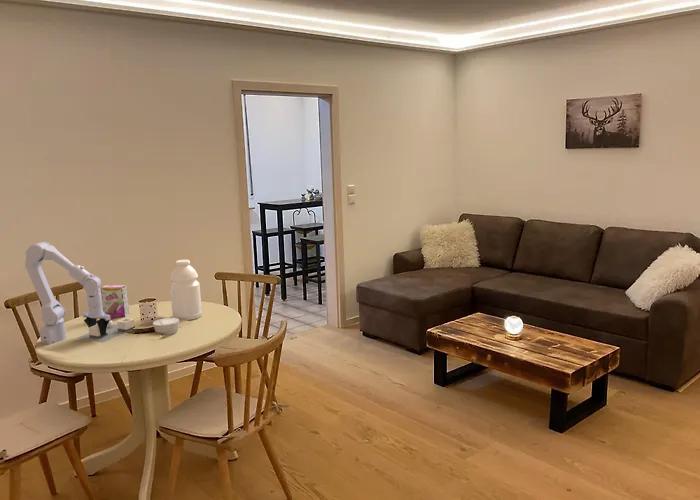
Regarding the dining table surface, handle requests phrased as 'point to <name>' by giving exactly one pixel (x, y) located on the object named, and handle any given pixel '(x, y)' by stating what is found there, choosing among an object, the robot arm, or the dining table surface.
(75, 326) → the dining table surface
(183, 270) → the bottle
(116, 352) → the dining table surface
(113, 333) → the pin board
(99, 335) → the sleeve
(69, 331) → the dining table surface
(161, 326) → the ramekin
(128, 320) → the seated sleeve
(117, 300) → the candy bar box
